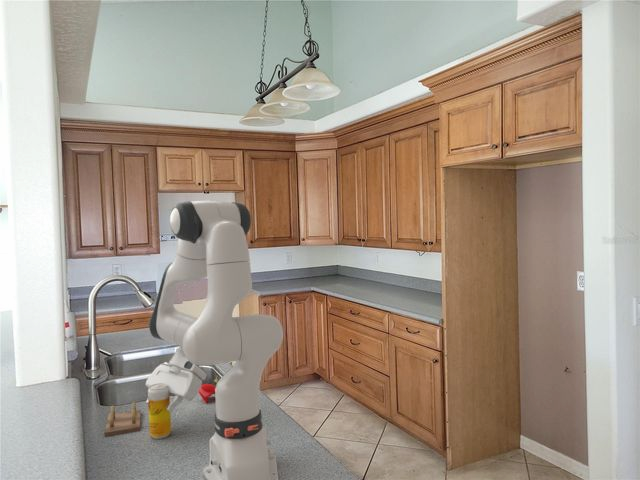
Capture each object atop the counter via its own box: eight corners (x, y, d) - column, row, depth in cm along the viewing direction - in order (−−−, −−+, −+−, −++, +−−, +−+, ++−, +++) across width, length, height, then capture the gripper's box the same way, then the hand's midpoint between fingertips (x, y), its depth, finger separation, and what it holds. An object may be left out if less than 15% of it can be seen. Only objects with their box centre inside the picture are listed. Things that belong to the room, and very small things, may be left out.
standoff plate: (140, 430, 146) (139, 413, 146) (104, 436, 143) (103, 419, 143) (140, 413, 160) (139, 398, 159) (108, 418, 156) (107, 403, 156)
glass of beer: (147, 435, 143) (144, 386, 142) (166, 428, 147) (164, 381, 146) (154, 441, 139) (151, 391, 138) (174, 435, 142) (172, 386, 142)
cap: (199, 397, 164) (214, 386, 165) (194, 386, 168) (208, 376, 170) (210, 409, 168) (224, 399, 170) (205, 399, 173) (219, 389, 174)
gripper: (156, 356, 154) (130, 396, 146) (198, 366, 142) (173, 409, 134) (168, 366, 157) (144, 405, 150) (210, 376, 146) (186, 419, 138)
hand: (158, 407), depth 142 cm, fingers open, 8 cm apart
